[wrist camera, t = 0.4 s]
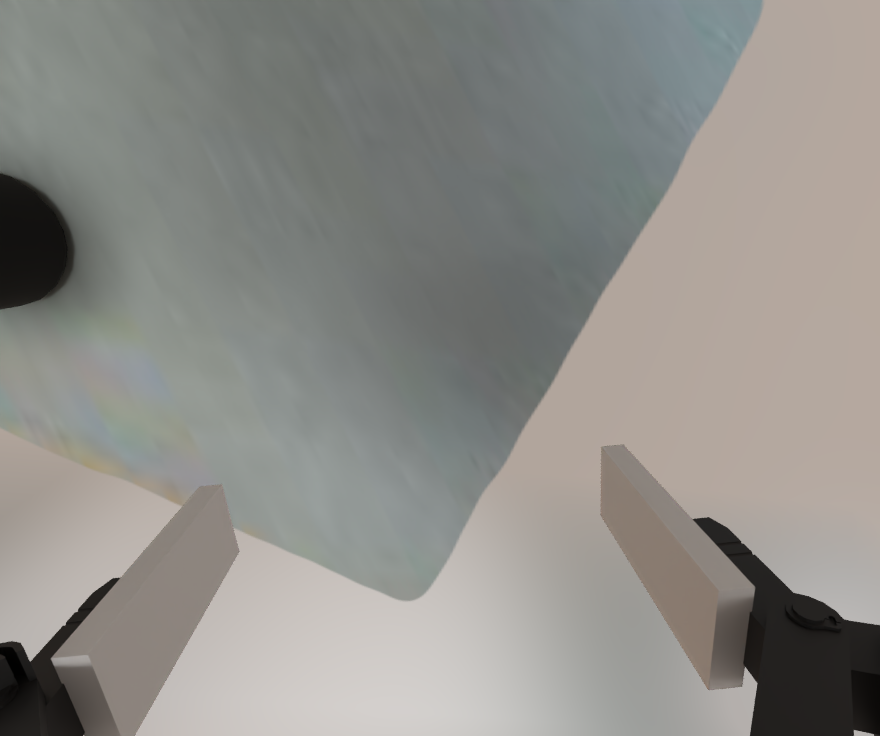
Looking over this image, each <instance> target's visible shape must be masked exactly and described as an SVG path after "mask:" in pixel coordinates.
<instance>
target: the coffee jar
mask: <svg viewBox="0 0 880 736" xmlns="http://www.w3.org/2000/svg"><path fill="white" fill-rule="evenodd" d="M66 257H67V245H66V241H65V236H64V232H63V229H62V228H61V226H60V224H59V222H58V220H57V218H56V216H55V214H54V213H53V212H52V211H51V209H50V208H49V207H48V206H47V205H46V204H45V203H44V202H43V201H42V200H41V199H40V197H39V196H38V195H37V194H36V193H35V192H33V191H32V190H30V189H29V188H27V187H26V186H24V185H22V184H21V183H19V182H18V181H16V180H15V179H13V178H12V177H9V176H6V175H3V174H0V309H5V308H11V307H16V306H21V305H25V304H28V303H31V302H33V301H36V300H39V299H41V298H42V297H43V296H45V295H46V294H47V293H48V292H49V291H50V290H52V289H53V288H54V287H55V286H56V285H57V283H58V281H59V279H60V277H61V275H62V273H63V271H64V268H65V266H66Z"/></svg>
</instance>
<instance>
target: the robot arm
mask: <svg viewBox="0 0 880 736" xmlns="http://www.w3.org/2000/svg"><path fill="white" fill-rule="evenodd" d="M601 517H602V518H603V520H604V522H605V523H606V525H607V527H608V528H609V530H610V531H611V533H612V534H613V536H614V538H615V540H616V541H617V543H618V544H619V546H620V548H621V549H622V551H623V552H624V554H625V556H626V557H627V559H628V561H629V562H630V564H631V565H632V567H633V569H634V570H635V572H636V573H637V575H638V577H639V578H640V580H641V582H642V583H643V585H644V587H645V588H646V590H647V591H648V593H649V595H650V596H651V598H652V599H653V601H654V603H655V604H656V606H657V608H658V609H659V611H660V612H661V614H662V616H663V617H664V619H665V621H666V622H667V624H668V625H669V627H670V628H671V630H672V632H673V634H674V635H675V637H676V638H677V640H678V641H679V643H680V645H681V646H682V648H683V649H684V651H685V653H686V655H687V656H688V658H689V659H690V661H691V663H692V664H693V666H694V668H695V669H696V671H697V672H698V674H699V676H700V677H701V679H702V681H703V682H704V684H705V685H706V687H707V689H708V690H715V689H725V688H735V687H742V684H743V676H744V668H745V667H746V668H747V669H748V671H749V672H750V674H751V675H752V676H753V678H754V679H755V680H756V682H757V683H758V684H757V691H756V698H755V706H754V712H753V718H752V725H751V732H750V736H854V730H858V731H862V732H867V733H871V734H874V736H880V625H874V624H867V623H860V622H854V621H848V620H844V619H843V618H842V617H841V616H840V615H839V614H838V613H837V612H836V611H835V610H833V609H832V608H830V607H829V606H827V605H826V604H824V603H823V602H820V601H818V600H816V599H814V598H811V597H809V596H805V595H800V594H796V593H793V592H792V591H791V590H790V589H789V588H788V587H787V586H786V585H785V584H784V583H783V582H782V581H781V580H780V579H779V578H778V577H777V576H776V575H775V574H774V573H773V572H772V571H771V570H770V569H769V568H768V567H767V566H766V565H765V564H764V563H763V562H762V561H761V560H760V559H759V558H757V556H755V555H753V554H752V552H751V550H749V549H748V548H747V547H746V546H745V545H744V544H742V543H741V541H740V540H739V539H738V538H737V537H736V536H735V535H734V534H733V533H732V532H731V531H730V530H729V529H728V528H727V527H725V526H723V525H721V524H720V523H718V522H716V521H714V520H713V519H711V518H709V517H707V518H698V519H692V518H691V517H690V516H689V515H688V514H687V513H686V512H685V511H684V510H683V509H682V507H681V506H679V504H678V503H677V502H676V501H675V500H674V499H673V498H672V497H671V496H670V494H669V493H668V492H667V491H666V490H665V489H664V488H663V487H662V486H661V485H660V484H659V483H658V481H657V480H656V479H655V478H654V477H653V476H652V475H651V474H650V473H649V472H648V471H647V470H646V469H645V467H644V466H643V465H642V464H641V463H640V462H639V461H638V460H637V459H636V458H635V457H634V456H633V454H632V453H631V452H630V451H629V450H628V449H627V448H626V447H625V446H624V445H614V446H604V447H601ZM238 553H239V548H238V544H237V541H236V537H235V533H234V529H233V525H232V521H231V517H230V514H229V510H228V506H227V502H226V498H225V494H224V491H223V487H222V484H221V485H211V486H201V487H199V488H198V489H197V490H196V491H195V493H194V494H193V495H192V496H191V497H190V498H189V499H188V501H187V502H186V503H185V504H184V505H183V506H182V508H181V509H180V510H179V511H178V512H177V513H176V514H175V516H174V517H173V518H172V519H171V520H170V522H169V523H168V524H167V525H166V526H165V527H164V528H163V530H162V531H161V532H160V533H159V534H158V535H157V536H156V538H155V539H154V540H153V541H152V542H151V543H150V545H149V546H148V547H147V548H146V549H145V550H144V551H143V553H142V554H141V555H140V556H139V557H138V559H137V560H136V561H135V562H134V563H133V564H132V565H131V567H130V568H129V569H128V570H127V571H126V572H125V573H124V575H123V576H122V577H121V578H113V579H111V580H110V581H109V582H107V583H106V584H105V585H104V586H102V587H100V588H99V589H98V590H96V591H95V592H94V593H92V594H91V596H90V597H89V598H88V599H87V600H86V601H85V602H84V603H83V604H82V605H81V607H80V608H79V609H78V612H76V613H74V614H73V615H72V617H71V618H70V619H69V620H68V621H67V622H66V625H65V626H62V628H61V629H60V630H59V631H58V632H57V633H56V634H55V635H54V637H53V638H52V639H51V640H50V641H49V642H48V643H47V644H46V645H45V646H44V647H43V649H42V650H41V651H40V652H39V653H38V654H37V655H36V656H35V657H34V658H33V660H32V661H31V662H30V661H29V660H28V657H27V655H26V652H25V650H24V648H23V646H22V645H21V643H18V642H12V641H11V642H6V643H0V736H83V735H84V736H135V734H136V732H137V730H138V729H139V727H140V725H141V724H142V722H143V720H144V718H145V717H146V715H147V713H148V711H149V710H150V708H151V706H152V704H153V703H154V701H155V699H156V697H157V695H158V694H159V692H160V690H161V688H162V687H163V685H164V683H165V681H166V680H167V678H168V676H169V674H170V673H171V671H172V669H173V667H174V666H175V664H176V662H177V660H178V658H179V656H180V655H181V653H182V651H183V649H184V648H185V646H186V645H187V643H188V641H189V639H190V637H191V636H192V634H193V632H194V630H195V629H196V627H197V625H198V623H199V622H200V620H201V618H202V616H203V614H204V613H205V611H206V609H207V608H208V606H209V604H210V602H211V600H212V598H213V597H214V595H215V593H216V592H217V590H218V588H219V586H220V585H221V583H222V581H223V579H224V578H225V576H226V574H227V572H228V571H229V569H230V567H231V565H232V564H233V562H234V560H235V558H236V557H237V555H238Z"/></svg>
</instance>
